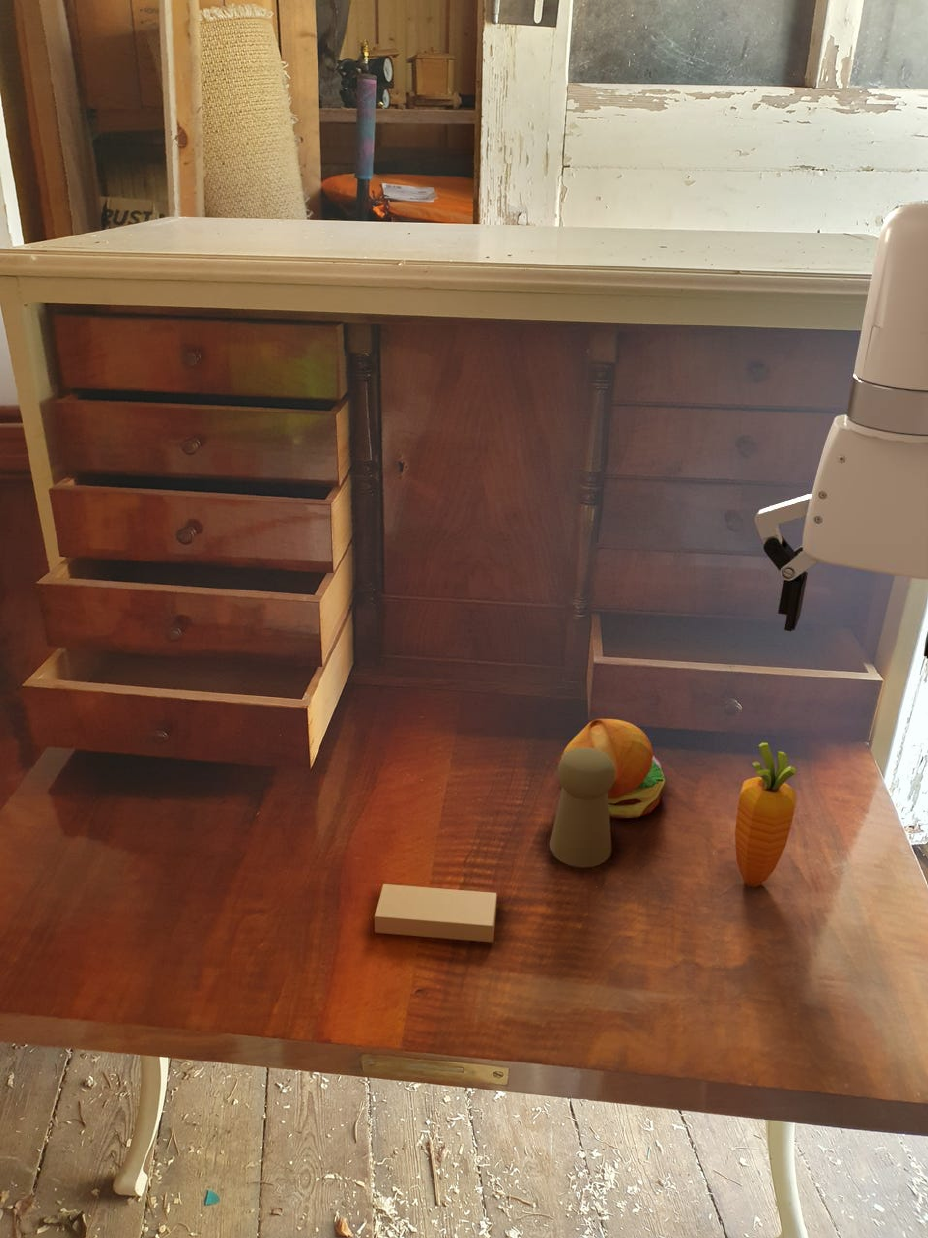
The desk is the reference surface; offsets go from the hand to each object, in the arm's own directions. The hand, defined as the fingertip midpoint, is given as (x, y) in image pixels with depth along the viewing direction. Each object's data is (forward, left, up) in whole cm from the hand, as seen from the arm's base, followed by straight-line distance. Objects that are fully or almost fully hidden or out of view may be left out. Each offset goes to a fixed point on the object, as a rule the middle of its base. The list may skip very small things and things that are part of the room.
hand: (858, 637), depth 71 cm
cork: (+20, -1, -28) cm, 35 cm away
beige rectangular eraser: (+28, +14, -28) cm, 42 cm away
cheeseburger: (+20, -10, -28) cm, 36 cm away
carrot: (+5, -3, -28) cm, 29 cm away
